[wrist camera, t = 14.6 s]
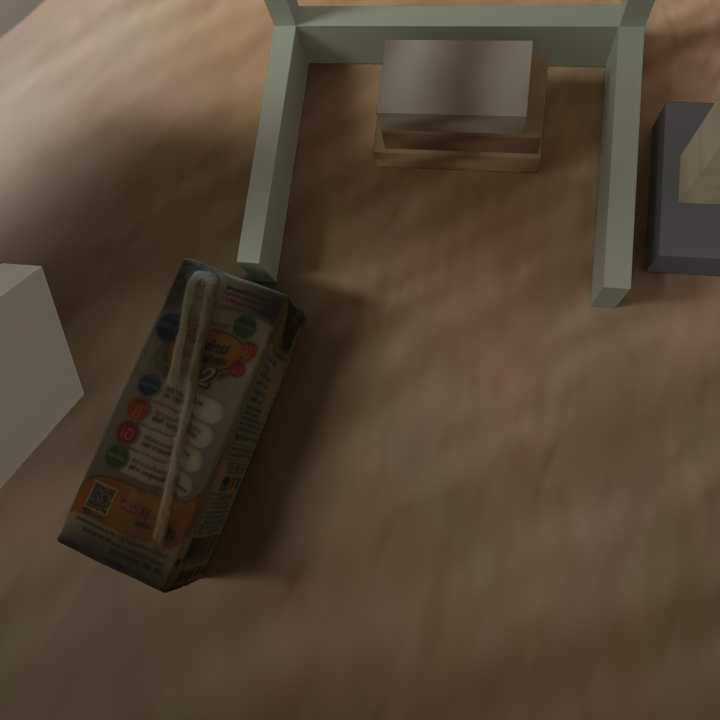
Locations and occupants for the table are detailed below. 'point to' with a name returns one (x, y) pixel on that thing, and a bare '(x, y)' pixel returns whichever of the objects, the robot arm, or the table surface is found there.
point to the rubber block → (674, 219)
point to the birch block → (702, 162)
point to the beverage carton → (184, 428)
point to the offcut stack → (461, 105)
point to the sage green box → (497, 23)
